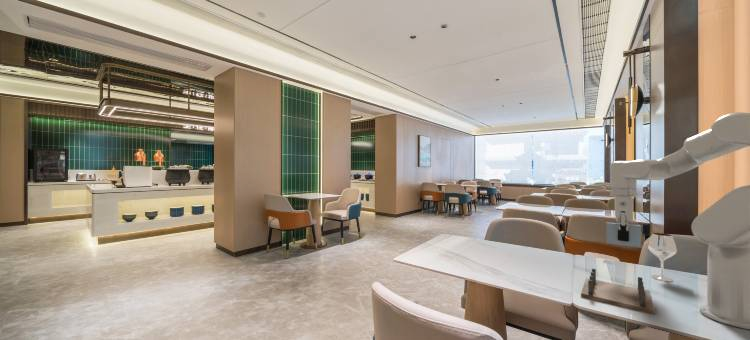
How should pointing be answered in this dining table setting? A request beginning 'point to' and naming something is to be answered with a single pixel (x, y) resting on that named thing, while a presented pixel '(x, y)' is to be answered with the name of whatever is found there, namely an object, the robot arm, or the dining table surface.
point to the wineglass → (662, 250)
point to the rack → (618, 294)
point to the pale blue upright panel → (633, 235)
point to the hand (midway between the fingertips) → (623, 239)
